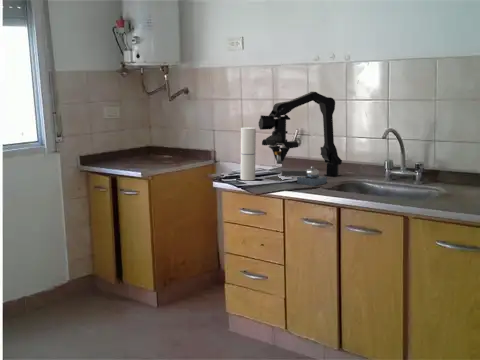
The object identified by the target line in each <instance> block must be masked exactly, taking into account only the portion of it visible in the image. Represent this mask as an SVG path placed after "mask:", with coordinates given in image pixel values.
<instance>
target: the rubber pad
mask: <svg viewBox="0 0 480 360" xmlns="http://www.w3.org/2000/svg"><path fill="white" fill-rule="evenodd" d="M264 179H266V180H273V181H277V180H280V182H282V181H281V180H282V179H281V178H279V177H278V174H277V175H272V176H267V177H264Z"/></svg>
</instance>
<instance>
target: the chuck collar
mask: <svg viewBox="0 0 480 360" xmlns="http://www.w3.org/2000/svg"><path fill="white" fill-rule="evenodd" d="M280 171H281V172H280V173H281V175H280V176H285V177H299V176H306V177H319V176H320V170H319V169H317V168H315V166H310V168H307V169H305V170H298V169H296V170H295V169H293V170H290V169H289V170H280Z"/></svg>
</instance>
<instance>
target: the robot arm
mask: <svg viewBox="0 0 480 360" xmlns="http://www.w3.org/2000/svg"><path fill="white" fill-rule="evenodd" d="M310 102H314V103H316V104H318V105H319V110H320V112H321V114H322V123H323V124H322V125H323V141H324V142H323V146H320V153H319V154H320V155H321V158H322V159H323V160H324V163H326V173H324V174H323V176H324V177H335V178H336V177H339V176H342V174H341V173H340V172H339V171H340V170H339V168H340V165H341V164H342V163H343V160H342V159H341V158H340V157H339V154H338V149H337V146H336V145H335V142H334V141H335V140H334V136H335V135H334V123H333V122H334V121H333V115H334V113H335V109H336V101H335V99H334V98H333V97H331V96H330V97H329V96H326V95H323V94H320V93H318V92H317V91H309V92H308V93H306V94H304V95H300V96H298V97H295V98H294V99H291V100H287V101H281V102H277V103H274V105H273V107H272V110H271V111H270V113H269V115H262V114H261V115H260V118H259V119H258V120H259V121H258V128H259V130H260V131H262V130H272V132H271V135H269V136H267V137H266V138H264V139H263V140H261V141H262V142H261V145H262V146H268V148H270V150H272V152H273V156H274V159H275V161H276V162H277V155H275V152H277V151H281V161H283V162H284V161H285V158H286V155H287V154H288V152H289V151H290V149H296V148H299V142H298V141H295V140H294V141H293V140H288V139H287V134H288V130H287V121H288V120H289V121H290V120H291V117H289V116H288V114H289V113H290V112H291V111H292V110H294V109H295V108H298V107H301V106H303V105H305V104H308V103H310ZM273 128H274V129H273Z"/></svg>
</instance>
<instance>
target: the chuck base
mask: <svg viewBox="0 0 480 360" xmlns="http://www.w3.org/2000/svg"><path fill="white" fill-rule="evenodd" d="M327 179H328V176H325V175H319V177H306V176H296V183H297V184H300V185H307V186H313V187H317V186H321V185H324V184H328V183H327Z"/></svg>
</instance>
